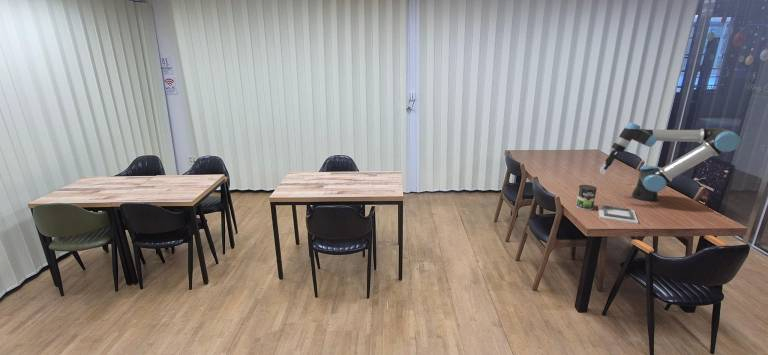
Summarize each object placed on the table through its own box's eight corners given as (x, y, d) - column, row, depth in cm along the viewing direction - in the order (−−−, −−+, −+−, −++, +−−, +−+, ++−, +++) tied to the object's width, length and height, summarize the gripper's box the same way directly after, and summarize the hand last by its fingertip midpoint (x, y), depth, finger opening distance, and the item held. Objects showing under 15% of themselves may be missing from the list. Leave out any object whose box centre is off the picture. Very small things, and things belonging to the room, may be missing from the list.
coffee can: (595, 210, 235) (599, 190, 230) (578, 209, 237) (581, 189, 233) (590, 204, 244) (594, 185, 240) (574, 203, 247) (577, 184, 242)
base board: (633, 211, 232) (634, 208, 231) (638, 223, 215) (638, 220, 214) (598, 206, 241) (598, 203, 240) (599, 218, 224) (600, 214, 223)
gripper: (613, 141, 253) (596, 167, 260) (615, 143, 231) (596, 171, 239) (624, 146, 250) (606, 172, 258) (627, 148, 228) (607, 177, 236)
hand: (601, 172), depth 248 cm, fingers open, 13 cm apart
